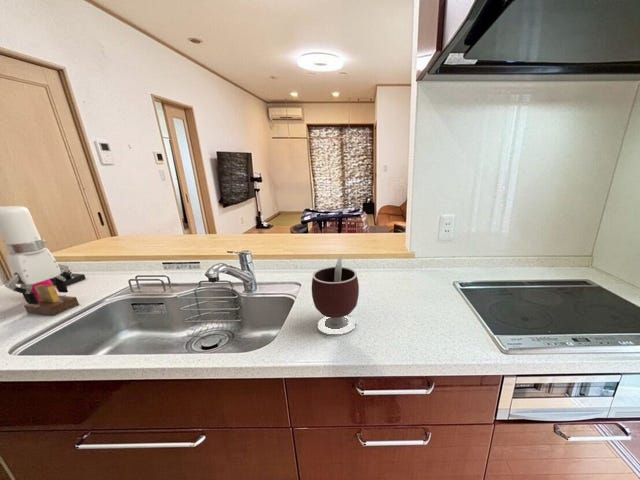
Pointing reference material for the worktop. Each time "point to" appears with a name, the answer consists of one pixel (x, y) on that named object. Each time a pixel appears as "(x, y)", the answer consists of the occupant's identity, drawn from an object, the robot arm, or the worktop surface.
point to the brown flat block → (52, 306)
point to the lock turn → (47, 293)
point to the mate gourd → (335, 294)
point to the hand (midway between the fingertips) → (49, 297)
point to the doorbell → (71, 278)
